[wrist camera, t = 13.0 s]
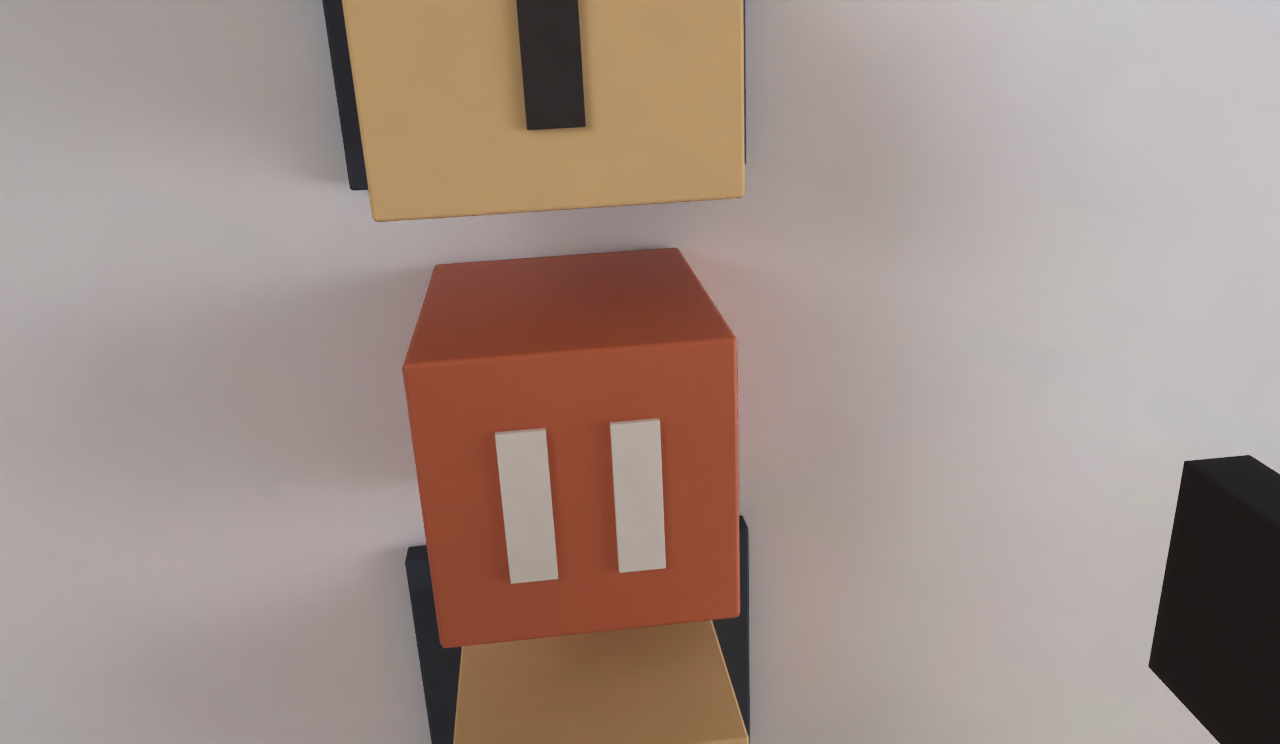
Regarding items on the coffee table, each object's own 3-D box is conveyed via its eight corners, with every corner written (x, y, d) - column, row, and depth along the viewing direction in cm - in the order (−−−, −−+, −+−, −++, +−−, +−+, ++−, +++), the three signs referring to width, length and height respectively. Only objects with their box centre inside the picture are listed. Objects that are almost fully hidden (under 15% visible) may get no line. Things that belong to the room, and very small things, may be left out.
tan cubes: (304, -167, 16) (180, -266, 10) (736, -180, 16) (854, -281, 11) (439, 763, 22) (411, 1027, 17) (744, 728, 23) (820, 971, 17)
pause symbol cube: (433, 263, 18) (400, 366, 13) (679, 246, 19) (739, 339, 14) (460, 485, 20) (439, 655, 15) (685, 465, 20) (742, 623, 15)
